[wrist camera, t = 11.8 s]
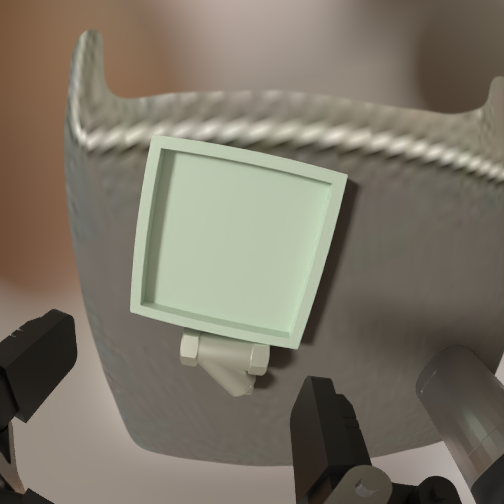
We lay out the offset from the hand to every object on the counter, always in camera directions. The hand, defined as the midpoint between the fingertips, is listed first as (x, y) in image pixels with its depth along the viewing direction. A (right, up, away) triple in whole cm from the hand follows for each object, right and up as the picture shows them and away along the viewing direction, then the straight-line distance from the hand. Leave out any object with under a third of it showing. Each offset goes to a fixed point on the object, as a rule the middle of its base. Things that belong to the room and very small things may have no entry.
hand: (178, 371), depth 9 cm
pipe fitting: (-1, -11, +19) cm, 22 cm away
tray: (0, +5, +17) cm, 18 cm away
